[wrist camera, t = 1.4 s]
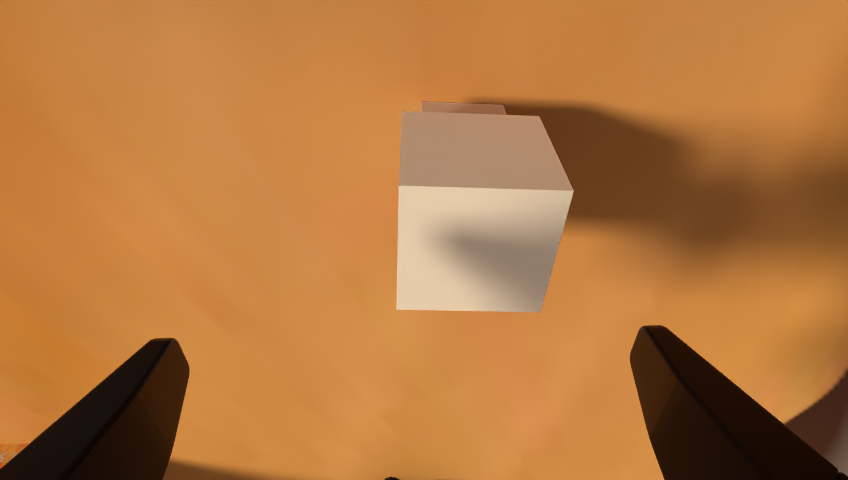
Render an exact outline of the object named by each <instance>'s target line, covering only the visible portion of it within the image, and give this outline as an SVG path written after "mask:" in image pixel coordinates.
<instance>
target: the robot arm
mask: <svg viewBox="0 0 848 480" xmlns="http://www.w3.org/2000/svg"><path fill="white" fill-rule="evenodd" d="M630 364H631V368H632V372H633V376H634V380H635V384H636V388H637V392H638V396H639V400H640V404H641V408H642V412H643V416H644V420H645V424H646V428H647V431H648V435H649V438H650V441H651V444H652V447H653V450H654V452H655V455H656V458H657V461H658V463H659V466H660V469H661V471H662V474H663V477H664V479H665V480H848V477H847V476H846V475H845V474H844V473H842V472H838V469H837V468H836V467H835V466H834V465H833V464H831V463H830V462H829V461H828V460H826V459H825V458H824V457H823V456H822V455H820V454H819V453H818V452H817V451H816V450H814V449H813V448H812V447H811V446H810V445H808V444H807V443H806V442H805V441H803V440H802V439H801V438H800V437H799V436H797V435H796V434H795V433H794V432H793V431H791V430H790V429H789V428H788V427H786V426H785V425H784V424H783V423H782V422H780V421H779V420H778V419H777V418H776V417H774V416H773V415H772V414H771V413H769V412H768V411H767V410H766V409H765V408H763V407H762V406H761V405H760V404H759V403H757V402H756V401H755V400H754V399H752V398H751V397H750V396H749V395H748V394H746V393H745V392H744V391H743V390H742V389H740V388H739V387H738V386H737V385H735V384H734V383H733V382H732V381H731V380H729V379H728V378H727V377H726V376H724V375H723V374H722V373H721V372H720V371H718V370H717V369H716V368H715V367H714V366H712V365H711V364H710V363H709V362H707V361H706V360H705V359H704V358H703V357H701V356H700V355H699V354H698V353H697V352H695V351H694V350H693V349H692V348H690V347H689V346H688V345H687V344H686V343H684V342H683V341H682V340H681V339H680V338H678V337H677V336H676V335H675V334H673V333H672V332H671V331H670V330H669V329H667V328H666V327H664V326H661V325H652V326H642V327H641V328H640V329H639V331H638V334H637V337H636V339H635V342H634V345H633V347H632V350H631V353H630ZM188 379H189V365H188V362H187V360H186V358H185V355H184V353H183V351H182V349H181V347H180V345H179V343H178V341H177V340H176V339H174V338H155V339H152V340H150V341H149V342H148V343H146V344H145V345H144V346H143V347H142V348H141V349H139V350H138V351H137V352H136V353H135V354H134V355H132V356H131V357H130V358H129V359H128V360H127V361H125V362H124V363H123V364H122V365H121V366H120V367H118V368H117V369H116V370H115V371H114V372H113V373H111V374H110V375H109V376H108V377H107V378H106V379H104V380H103V381H102V382H101V383H100V384H99V385H97V386H96V387H95V388H94V389H93V390H92V391H90V392H89V393H88V394H87V395H86V396H85V397H83V398H82V399H81V400H80V401H79V402H78V403H76V404H75V405H74V406H73V407H72V408H71V409H69V410H68V411H67V412H66V413H65V414H64V415H62V416H61V417H60V418H59V419H58V420H57V421H55V422H54V423H53V424H52V425H51V426H50V427H48V428H47V429H46V430H45V431H44V432H42V433H41V434H40V435H39V436H38V437H37V438H35V439H34V440H33V441H32V442H31V443H30V444H28V445H27V446H26V447H25V448H24V449H23V450H21V451H20V452H19V453H18V454H17V455H16V456H14V457H13V458H12V459H11V460H10V461H9V462H7V463H6V464H5V465H4V466H3V467H2V468H0V480H163V477H164V474H165V471H166V468H167V465H168V462H169V459H170V456H171V453H172V449H173V445H174V441H175V437H176V433H177V428H178V424H179V419H180V415H181V410H182V406H183V401H184V397H185V392H186V388H187V383H188Z"/></svg>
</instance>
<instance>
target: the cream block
mask: <svg viewBox="0 0 848 480" xmlns="http://www.w3.org/2000/svg"><path fill="white" fill-rule="evenodd" d="M573 192H574V190H573V188H572V186H571V184H570V182H569V179H568V177H567V175H566V173H565V171H564V169H563V166H562V164H561V162H560V160H559V158H558V156H557V154H556V151H555V149H554V147H553V145H552V143H551V141H550V138H549V136H548V134H547V132H546V130H545V128H544V125H543V123H542V121H541V119H540V117H539V116H523V115H507V114H506V111H505V108H504V105H501V104H475V103H449V102H422V106H421V112H415V111H402V117H401V145H400V172H399V211H398V260H397V309H399V310H451V311H502V312H541V308H542V305H543V301H544V297H545V294H546V290H547V287H548V283H549V279H550V276H551V272H552V268H553V265H554V261H555V258H556V254H557V250H558V247H559V243H560V239H561V236H562V232H563V228H564V225H565V221H566V218H567V214H568V210H569V207H570V203H571V199H572V196H573Z"/></svg>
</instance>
